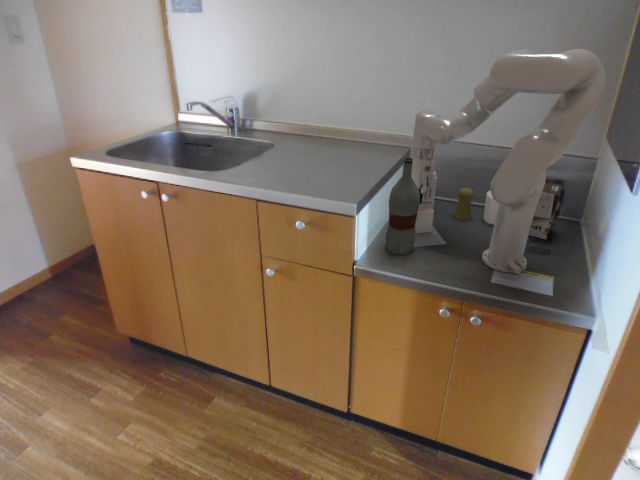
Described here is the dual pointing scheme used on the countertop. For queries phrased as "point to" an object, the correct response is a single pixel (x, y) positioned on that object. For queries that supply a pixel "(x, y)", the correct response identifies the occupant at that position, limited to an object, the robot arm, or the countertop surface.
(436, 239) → the mat
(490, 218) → the white cup
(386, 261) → the countertop surface
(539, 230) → the coffee box
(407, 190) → the bottle
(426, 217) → the tile
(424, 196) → the energy drink can
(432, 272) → the countertop surface
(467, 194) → the cork
